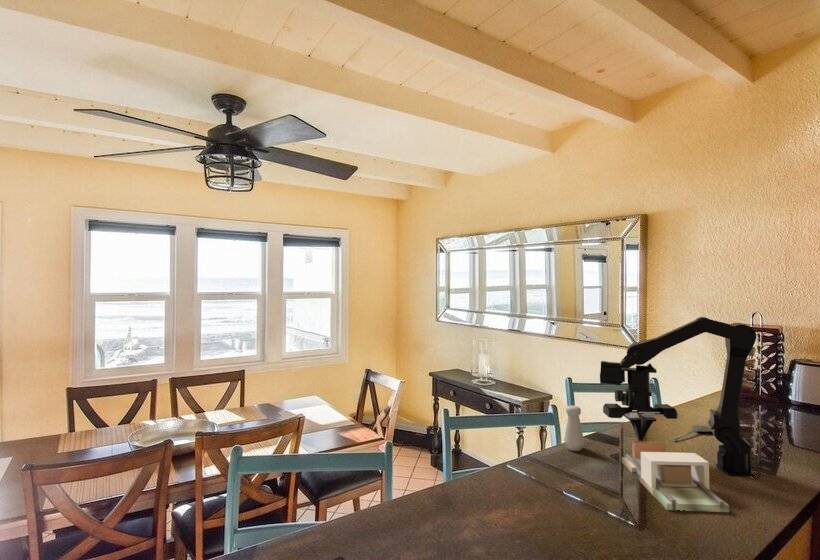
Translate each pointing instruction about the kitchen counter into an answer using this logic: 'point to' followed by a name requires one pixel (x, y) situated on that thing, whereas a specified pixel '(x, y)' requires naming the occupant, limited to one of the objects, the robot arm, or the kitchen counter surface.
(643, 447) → the sled
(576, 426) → the salt shaker
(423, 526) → the kitchen counter surface
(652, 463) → the tunnel
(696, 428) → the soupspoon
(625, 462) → the track deck
